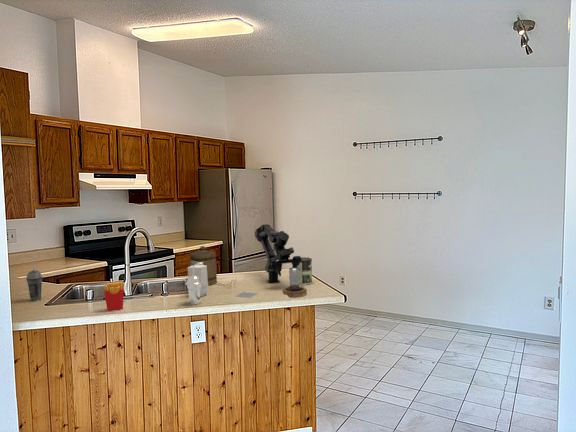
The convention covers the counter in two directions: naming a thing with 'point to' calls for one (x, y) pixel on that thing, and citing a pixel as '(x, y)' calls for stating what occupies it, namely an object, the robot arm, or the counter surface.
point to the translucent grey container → (206, 263)
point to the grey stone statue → (194, 287)
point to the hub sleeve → (294, 279)
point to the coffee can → (305, 271)
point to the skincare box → (202, 273)
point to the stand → (246, 294)
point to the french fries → (114, 295)
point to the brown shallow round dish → (299, 293)
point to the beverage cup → (34, 284)
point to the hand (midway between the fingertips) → (288, 274)
